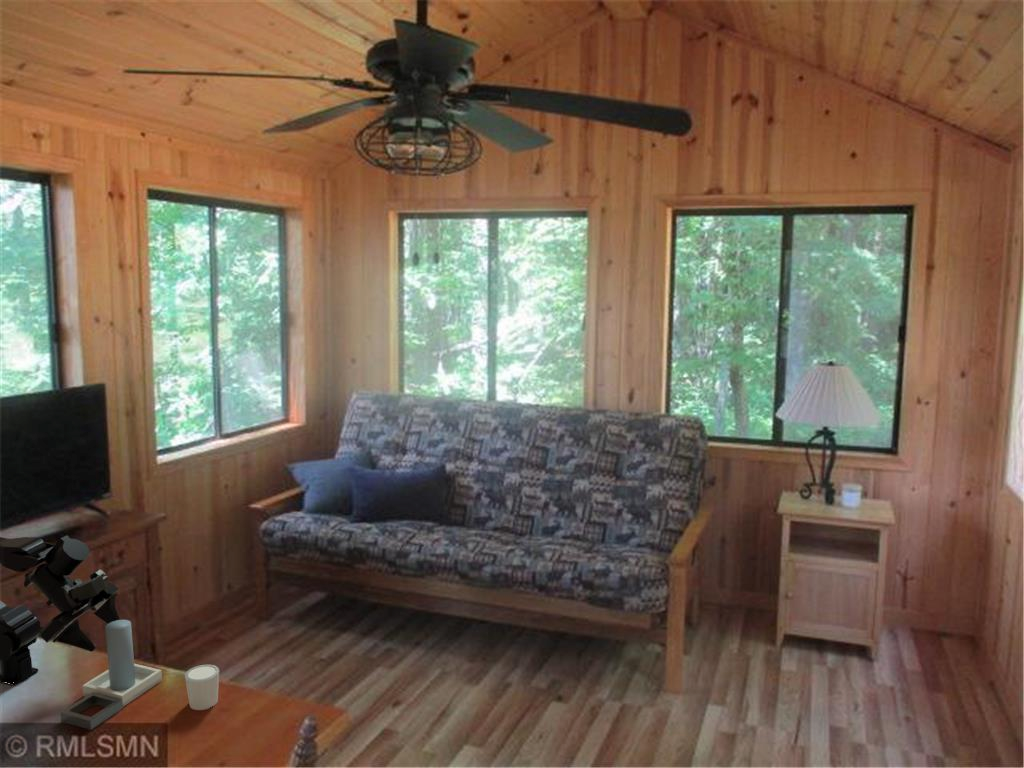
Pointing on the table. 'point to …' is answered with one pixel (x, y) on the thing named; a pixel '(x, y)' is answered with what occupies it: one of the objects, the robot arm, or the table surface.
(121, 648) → the post
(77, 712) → the socket
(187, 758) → the table surface
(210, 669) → the white cup
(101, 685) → the tray
